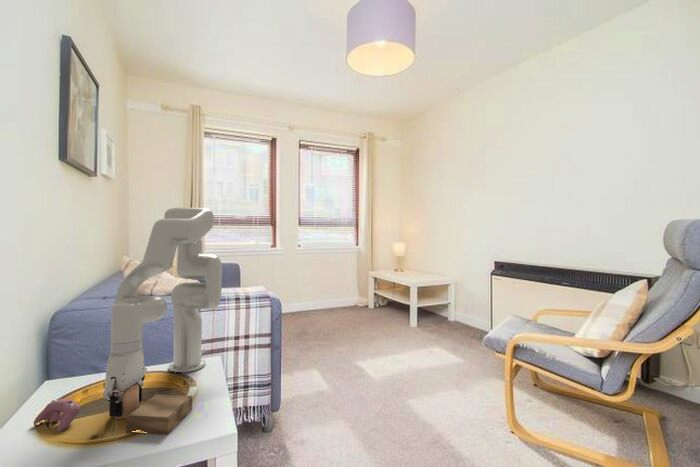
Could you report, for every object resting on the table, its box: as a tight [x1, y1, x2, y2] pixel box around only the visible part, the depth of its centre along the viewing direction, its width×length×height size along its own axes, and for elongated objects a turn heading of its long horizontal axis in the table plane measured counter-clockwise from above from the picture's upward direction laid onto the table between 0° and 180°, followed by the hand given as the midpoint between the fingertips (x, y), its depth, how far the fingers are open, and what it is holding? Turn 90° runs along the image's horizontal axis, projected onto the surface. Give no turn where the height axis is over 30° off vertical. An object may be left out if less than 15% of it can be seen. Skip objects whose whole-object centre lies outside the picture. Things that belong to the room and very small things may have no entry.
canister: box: [113, 383, 140, 420], centre depth 97 cm, size 6×6×7 cm
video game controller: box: [33, 398, 81, 432], centre depth 92 cm, size 10×5×7 cm, turn 75°
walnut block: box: [125, 394, 193, 436], centre depth 94 cm, size 12×11×4 cm
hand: (126, 407), depth 97 cm, fingers open, 7 cm apart
